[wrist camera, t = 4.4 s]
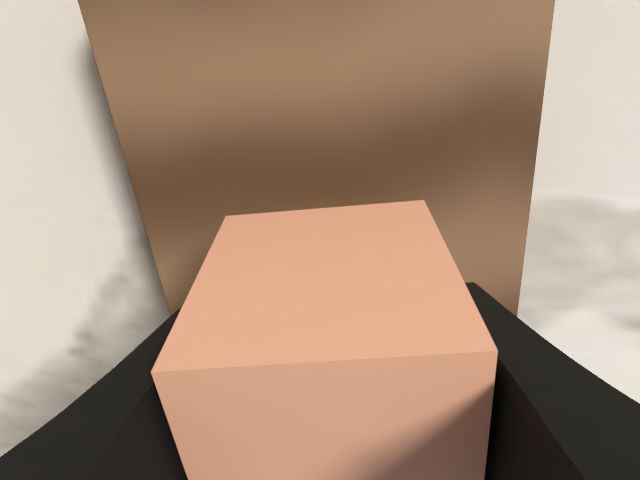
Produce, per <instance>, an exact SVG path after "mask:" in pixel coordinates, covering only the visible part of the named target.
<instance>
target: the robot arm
mask: <svg viewBox="0 0 640 480" xmlns="http://www.w3.org/2000/svg"><path fill="white" fill-rule="evenodd" d="M465 284H466V286H467V288H468V291H469V293H470V295H471V297H472V299H473V301H474V303H475V305H476V307H477V309H478V311H479V313H480V315H481V317H482V319H483V321H484V323H485V325H486V327H487V329H488V331H489V333H490V335H491V337H492V340H493V342H494V344H495V346H496V348H497V350H498V355H497V365H496V374H495V383H494V393H493V402H492V411H491V421H490V430H489V439H488V449H487V458H486V467H485V477H484V480H640V404H639V403H638V402H636V401H634V400H633V399H631V398H629V397H628V396H626V395H625V394H623V393H622V392H620V391H618V390H617V389H615V388H614V387H612V386H611V385H609V384H608V383H606V382H605V381H603V380H602V379H600V378H599V377H597V376H596V375H594V374H593V373H592V372H590V371H589V370H587V369H586V368H584V367H583V366H581V365H580V364H578V363H577V362H575V361H574V360H573V359H571V358H570V357H568V356H567V355H566V354H564V353H563V352H562V351H560V350H559V349H557V348H556V347H555V346H553V345H552V344H551V343H549V342H548V341H547V340H545V339H544V338H543V337H542V336H540V335H539V334H538V333H536V332H535V331H534V330H533V329H531V328H530V327H529V326H527V325H526V324H525V323H524V322H522V321H521V320H520V319H519V318H517V317H516V316H515V315H514V314H513V313H511V312H510V311H509V310H508V309H506V308H505V307H504V306H503V305H502V304H500V303H499V302H498V301H497V300H495V299H494V298H493V297H492V296H491V295H489V294H488V293H487V292H486V291H485V290H483V289H482V288H481V287H480V286H478V285H477V284H476V283H475V282H468V283H465ZM181 308H182V307H180V308H179V309H178V310H177V311H176V312H175V313H174V314H173V315H171V316H170V317H169V318H168V319H167V320H166V321H165V322H164V323H163V324H162V325H161V326H159V327H158V328H157V329H156V330H155V331H154V332H153V333H152V334H151V335H150V336H149V337H148V338H147V339H145V340H144V341H143V342H142V343H141V344H140V345H139V346H138V347H137V348H136V349H134V350H133V351H132V352H131V353H130V354H129V355H128V356H127V357H126V358H125V359H123V360H122V361H121V362H120V363H119V364H118V365H117V366H116V367H115V368H113V369H112V370H111V371H110V372H109V373H108V374H106V375H105V376H104V377H103V378H102V379H100V380H99V381H98V382H97V383H96V384H94V385H93V386H92V387H91V388H90V389H88V390H87V391H86V392H85V393H84V394H83V395H81V396H80V397H79V398H78V399H77V400H75V401H74V402H73V403H72V404H71V405H69V406H68V407H67V408H66V409H65V410H63V411H62V412H61V413H59V414H58V415H57V416H56V417H54V418H53V419H52V420H50V421H49V422H48V423H46V424H45V425H44V426H43V427H41V428H40V429H39V430H37V431H36V432H35V433H33V434H32V435H30V436H29V437H28V438H26V439H25V440H23V441H22V442H21V443H19V444H18V445H17V446H15V447H14V448H12V449H11V450H10V451H8V452H7V453H5V454H4V455H3V456H1V457H0V480H188V478H187V475H186V472H185V469H184V466H183V463H182V461H181V458H180V455H179V452H178V449H177V446H176V443H175V440H174V438H173V435H172V432H171V429H170V426H169V423H168V420H167V417H166V415H165V412H164V409H163V406H162V403H161V400H160V397H159V394H158V392H157V389H156V386H155V383H154V380H153V377H152V374H151V371H152V369H153V366H154V364H155V362H156V360H157V358H158V356H159V354H160V352H161V350H162V348H163V346H164V344H165V341H166V339H167V337H168V335H169V333H170V331H171V329H172V327H173V325H174V323H175V321H176V319H177V317H178V314H179V312H180V310H181Z"/></svg>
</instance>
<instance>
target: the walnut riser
mask: <svg viewBox="0 0 640 480" xmlns="http://www.w3.org/2000/svg"><path fill="white" fill-rule="evenodd" d="M78 3H79V6H80V10H81V13H82V17H83V20H84V23H85V27H86V30H87V33H88V37H89V40H90V44H91V47H92V50H93V54H94V57H95V61H96V64H97V67H98V71H99V74H100V77H101V81H102V84H103V88H104V91H105V94H106V98H107V101H108V105H109V108H110V111H111V115H112V118H113V121H114V125H115V128H116V132H117V135H118V138H119V142H120V145H121V148H122V152H123V155H124V159H125V162H126V165H127V169H128V172H129V176H130V179H131V182H132V186H133V189H134V192H135V196H136V199H137V203H138V206H139V209H140V213H141V216H142V220H143V223H144V226H145V230H146V233H147V236H148V240H149V243H150V247H151V250H152V253H153V257H154V260H155V264H156V267H157V270H158V274H159V277H160V280H161V284H162V287H163V291H164V294H165V297H166V301H167V304H168V308H169V311H170V314H171V315H173V314H174V313H175V312H176V311H177V310H178V309H179V308H180V307H182V306H183V304H184V302H185V300H186V298H187V296H188V294H189V292H190V289H191V287H192V285H193V283H194V281H195V279H196V277H197V275H198V273H199V271H200V269H201V267H202V264H203V262H204V260H205V258H206V256H207V254H208V252H209V250H210V248H211V246H212V244H213V242H214V240H215V237H216V235H217V233H218V231H219V229H220V227H221V225H222V223H223V221H224V219H225V217H226V216H231V215H244V214H256V213H268V212H281V211H293V210H306V209H318V208H330V207H343V206H355V205H367V204H380V203H392V202H405V201H417V200H424V201H425V203H426V205H427V207H428V209H429V211H430V213H431V215H432V217H433V219H434V221H435V223H436V225H437V227H438V229H439V231H440V233H441V235H442V237H443V240H444V242H445V244H446V246H447V248H448V250H449V252H450V254H451V256H452V258H453V260H454V262H455V264H456V266H457V268H458V270H459V272H460V274H461V276H462V278H463V280H464V282H465V283H468V282H475V283H476V284H477V285H478V286H480V287H481V288H482V289H483V290H485V291H486V292H487V293H488V294H489V295H491V296H492V297H493V298H494V299H495V300H497V301H498V302H499V303H500V304H502V305H503V306H504V307H505V308H506V309H508V310H509V311H510V312H511V313H513V314H514V315H515V316H516V317H517V311H518V303H519V295H520V286H521V278H522V270H523V261H524V253H525V245H526V236H527V228H528V220H529V212H530V203H531V195H532V187H533V178H534V170H535V162H536V153H537V145H538V137H539V128H540V120H541V112H542V103H543V95H544V87H545V79H546V70H547V62H548V54H549V45H550V37H551V29H552V20H553V12H554V4H555V0H78Z"/></svg>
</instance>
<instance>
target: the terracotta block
mask: <svg viewBox="0 0 640 480" xmlns="http://www.w3.org/2000/svg"><path fill="white" fill-rule="evenodd" d="M497 355H498V350H497V348H496V346H495V344H494V342H493V340H492V337H491V335H490V333H489V331H488V329H487V327H486V325H485V323H484V321H483V319H482V317H481V315H480V313H479V311H478V309H477V307H476V305H475V303H474V301H473V299H472V297H471V295H470V293H469V291H468V288H467V286H466V284H465V282H464V280H463V278H462V276H461V274H460V272H459V270H458V268H457V266H456V264H455V262H454V260H453V258H452V256H451V254H450V252H449V250H448V248H447V246H446V244H445V242H444V240H443V237H442V235H441V233H440V231H439V229H438V227H437V225H436V223H435V221H434V219H433V217H432V215H431V213H430V211H429V209H428V207H427V205H426V203H425V201H424V200H417V201H405V202H392V203H380V204H367V205H355V206H343V207H330V208H318V209H306V210H293V211H281V212H268V213H256V214H244V215H231V216H226V217H225V219H224V221H223V223H222V225H221V227H220V229H219V231H218V233H217V235H216V237H215V240H214V242H213V244H212V246H211V248H210V250H209V252H208V254H207V256H206V258H205V260H204V262H203V264H202V267H201V269H200V271H199V273H198V275H197V277H196V279H195V281H194V283H193V285H192V287H191V289H190V292H189V294H188V296H187V298H186V300H185V302H184V304H183V306H182V308H181V310H180V312H179V314H178V317H177V319H176V321H175V323H174V325H173V327H172V329H171V331H170V333H169V335H168V337H167V339H166V341H165V344H164V346H163V348H162V350H161V352H160V354H159V356H158V358H157V360H156V362H155V364H154V366H153V369H152V371H151V374H152V377H153V380H154V383H155V386H156V389H157V392H158V394H159V397H160V400H161V403H162V406H163V409H164V412H165V415H166V417H167V420H168V423H169V426H170V429H171V432H172V435H173V438H174V440H175V443H176V446H177V449H178V452H179V455H180V458H181V461H182V463H183V466H184V469H185V472H186V475H187V478H188V480H484V477H485V467H486V458H487V449H488V439H489V430H490V421H491V411H492V402H493V393H494V383H495V374H496V365H497Z"/></svg>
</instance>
